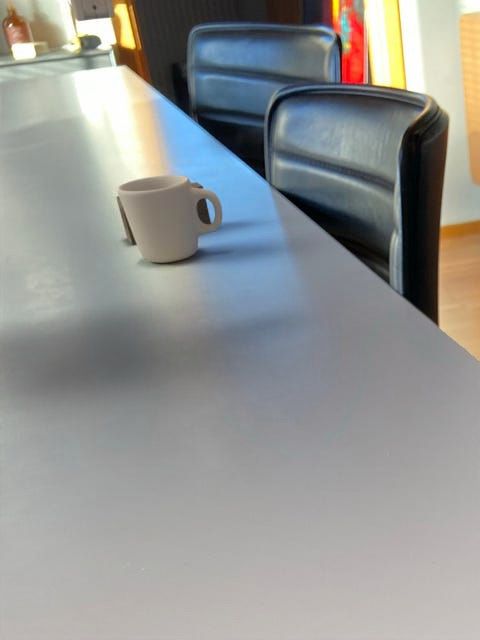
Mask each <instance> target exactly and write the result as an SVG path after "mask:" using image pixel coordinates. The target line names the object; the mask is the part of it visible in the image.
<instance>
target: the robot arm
mask: <svg viewBox="0 0 480 640" xmlns="http://www.w3.org/2000/svg"><path fill="white" fill-rule="evenodd" d="M70 5H71V8H72V12H73V15H74V19H75V20H76V21H77V22H85V21H91V20H100V19H101V20H102V19H111V18H115V17H116V16H115V15H116V14H115V9H114V4H113V0H70Z"/></svg>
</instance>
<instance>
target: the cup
mask: <svg viewBox="0 0 480 640" xmlns="http://www.w3.org/2000/svg"><path fill="white" fill-rule="evenodd" d="M191 183H192V182H191V180H190V178H189V177H187V176H184V175H177V174H176V175H175V174H170V175H168V174H167V175H156V176H149V177H144V178H139V179H135V180H130V181H128V182H125V183H122V184H121V185H119V187H117V190H116V191H117V195H118V196H119V198H120V201H121V203H122V206H123V209H124V211H125V214H126V217H127V220H128V222H129V225H130V228H131V230H132V233H133V236H134V238H135V241H136V244H135V245H136V246H137V249H138V251H139V253H140V255H141V256H142V257H143V258H144V259H145V260H146V261H149V262H152V263H160V264H161V263H162V264H163V263H173V262H178V261H182V260H185V259H187V258H188V259H189V258H190V257H192V256H193V255H194V254H195V253H196V252H197V251H198V248H199V237H200V236H203V235H209V234H212V233H215V232H216V231H218V230H219V229H220V227H221V225H222V222H223V208H222V203H221V201H220V199H219V196H218V195H217V194H216V193H214V192H213V191H212V190H210V189H207V188H203V189H202V188H193V187H192V186H191ZM203 198H205V199H206V200H208V201H209V202H210V203H211V204H212V207H213V210H214V219H213V221H212V222H211V224H204V223H203V222H202V221H201V220H200V219H199V217H198V213H197V203H198V201H199V200H200V199H203Z"/></svg>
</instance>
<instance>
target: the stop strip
mask: <svg viewBox="0 0 480 640" xmlns="http://www.w3.org/2000/svg"><path fill="white" fill-rule="evenodd" d="M191 186H192V187H193V188H202V189H204V186H203V185H201V184H200V183H199V182H197V181H196V182H191ZM115 198H116V202H117V205H118V209H119V213H120V217H121V220H122V224H123V228H124V232H125V235H126V240H127V241H128V242H129V243H130V244H131V245H137V244H136V241H135V238H134V236H133V233H132V230H131V228H130V225H129V222H128V220H127V217H126V214H125V211H124V209H123V206H122V203H121V201H120V198H119V195H118V196H116V197H115ZM197 213H198V217H199V219H200V220H201V221H202V222H203V223H204V224H211V223H212V221H211V217H210V213H209V208H208V202H207V199H205V198H203V199H200V200H199V201H198V203H197Z"/></svg>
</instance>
